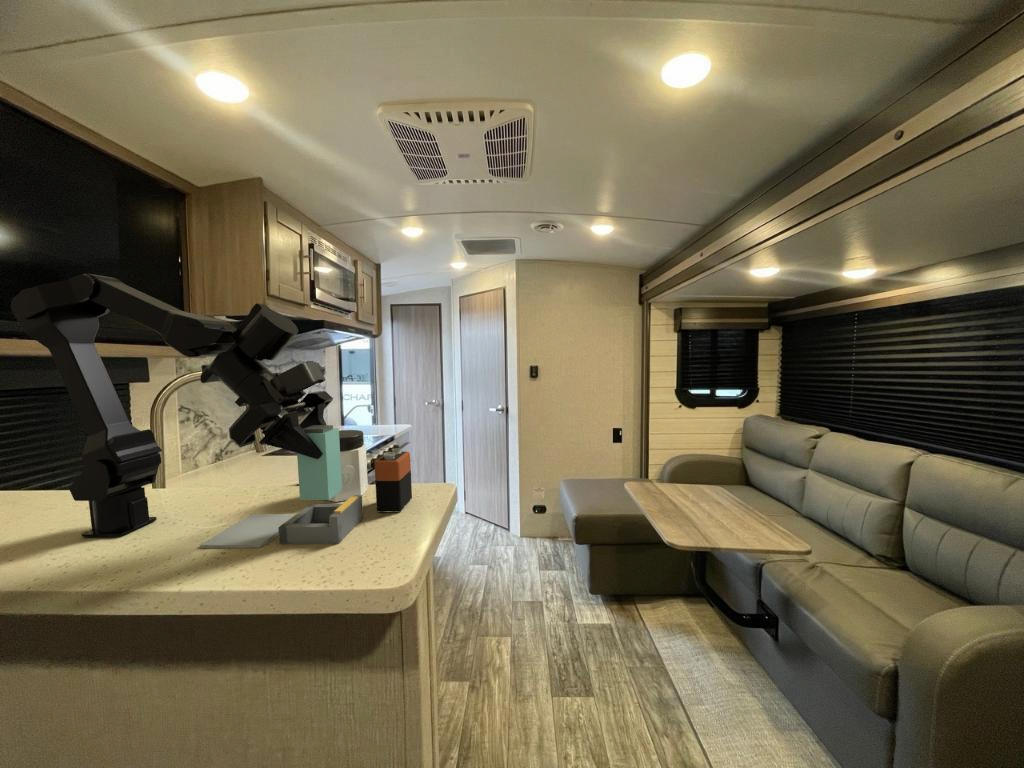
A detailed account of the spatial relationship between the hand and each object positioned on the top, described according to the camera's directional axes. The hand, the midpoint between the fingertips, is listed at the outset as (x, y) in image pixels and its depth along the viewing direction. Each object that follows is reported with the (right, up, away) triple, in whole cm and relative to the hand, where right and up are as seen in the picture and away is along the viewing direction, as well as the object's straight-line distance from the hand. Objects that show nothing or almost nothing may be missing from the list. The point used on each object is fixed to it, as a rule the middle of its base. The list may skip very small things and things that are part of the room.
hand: (328, 452), depth 62 cm
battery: (+7, -12, +11) cm, 17 cm away
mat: (-12, -13, +1) cm, 18 cm away
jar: (-5, -11, +17) cm, 21 cm away
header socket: (-1, -12, +1) cm, 12 cm away
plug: (-1, -7, +1) cm, 7 cm away
